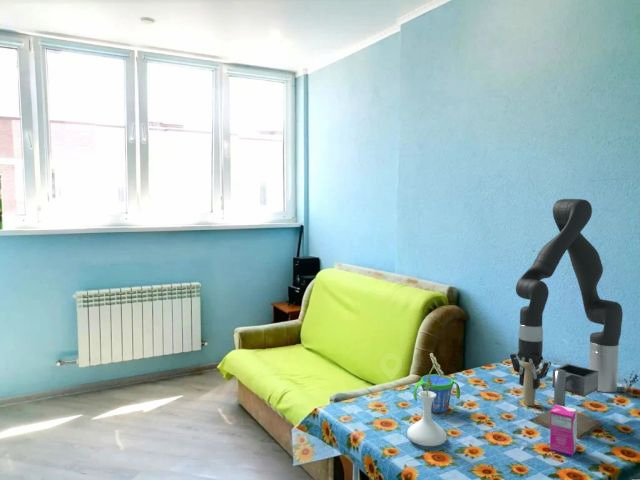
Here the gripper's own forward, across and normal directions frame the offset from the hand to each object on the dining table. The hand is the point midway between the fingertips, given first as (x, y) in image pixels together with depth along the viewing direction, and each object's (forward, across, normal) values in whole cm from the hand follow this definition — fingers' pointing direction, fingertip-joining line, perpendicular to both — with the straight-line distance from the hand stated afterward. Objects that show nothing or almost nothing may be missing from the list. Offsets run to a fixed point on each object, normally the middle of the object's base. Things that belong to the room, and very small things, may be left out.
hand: (529, 386), depth 162 cm
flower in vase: (+7, +5, +47) cm, 48 cm away
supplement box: (+7, -22, +22) cm, 32 cm away
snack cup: (+7, +17, +28) cm, 33 cm away
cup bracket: (+6, -15, +4) cm, 17 cm away
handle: (+6, 0, 0) cm, 6 cm away
